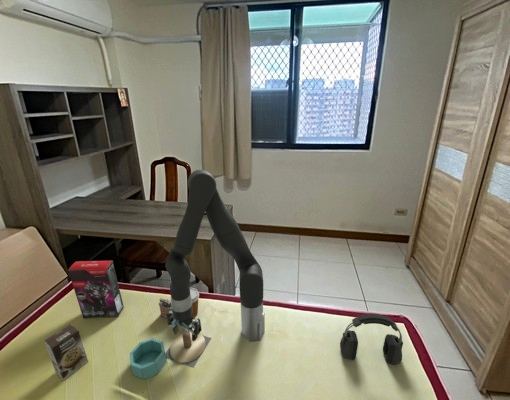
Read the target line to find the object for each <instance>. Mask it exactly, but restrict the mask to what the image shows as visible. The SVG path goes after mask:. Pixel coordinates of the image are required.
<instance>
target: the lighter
mask: <svg viewBox="0 0 510 400" xmlns="http://www.w3.org/2000/svg"><path fill="white" fill-rule="evenodd" d="M158 306H159V310H160V317H161V318H164V319H165V320H167V314H168V312H169V311H170V310H172V306H171V300H169V299H168V298H167V299H165V298H162V297H161V298H160V299H159V301H158ZM174 321H176V320H175V319H174Z"/></svg>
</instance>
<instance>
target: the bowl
mask: <svg viewBox="0 0 510 400" xmlns="http://www.w3.org/2000/svg"><path fill="white" fill-rule="evenodd" d="M165 353H166V350H165V345H164V341H162V340H160V339H156V338H153V337H152V338H149V339H146V340H143V341H141V342H139V343H137V345H136V346H135V347H134V348H133V349H132V350H131V351H130V352H129V364H130V369H131V372H132V375H133V376H136V377H137V378H139V379H142V380H145V379H146V378H147V379H148V378H151V377H153V376H155V375H158V374H159V372H161V370H162V369H163V368H164V366H165V364H166V363H167V358H166V355H165Z"/></svg>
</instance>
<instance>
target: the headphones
mask: <svg viewBox="0 0 510 400" xmlns="http://www.w3.org/2000/svg"><path fill="white" fill-rule="evenodd" d="M351 320H352V322H350V323H349V324H348V325H347V326H346V328H345V330H344V332H343V333H342V337H341V339H340V342H339V350H340V353H341V355H342V357H343V358H345V359H349V360H356V358H357V354H358V349H359V348H358V347H359V340H358V336H357V333H356V331H355V330H350V329H351V328H353V327H355V328H357V327H359V326H362V324H363V325H369V324H370V325H372V324H373V325H375V324H376V325H382V326H384V327H385V326H386V327H391V329H393V330H394V331H395V332H398V333H399V336H397V335H396V334H389V333H388V334H386V335H385V337H384V340H383V346H382V353H383V357H384V359H385V362H386V363H387V364H391V365H398V364H401V362H402V361H403V345H404V342H403V335H402V332H401V330H400V329H399V327H398V326H397V324H396V322H395V321H394V320H393V319H392V318H390V317H389V316H386V315H382V314H378V313H366V314H361V315H358V316H356V317H354V318H352V319H351Z"/></svg>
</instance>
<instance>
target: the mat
mask: <svg viewBox="0 0 510 400" xmlns="http://www.w3.org/2000/svg"><path fill="white" fill-rule="evenodd" d="M186 331H188V330H187V329H184V328H183V329H182V330H181V331H180V333H179V335H181V334H183V333H184V332H186ZM189 332H190V331H189ZM179 335H178V336H179ZM201 335H202V336H203V337H204V339H205V349H204V351H205V350H206V348H207V347H208V345H209V343H210V341H211V340H212V337H209V336H207V335H203V334H201ZM165 355H166V359H168V360H171V361H174V362H176V361H175V360H174V359H173V358H172V357H171V354H170V346H169V348H168V349H167V350H165ZM202 355H203V353H202V354H201V355H200V356H199V357H198V358H197V359H195V360H193V361H191V362H187V363H181V362H178V363H180V364H183V365H185V366H188V367H191V368H195V366H196V364H197V363H198V362H199V359H200V358H201V356H202Z"/></svg>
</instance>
